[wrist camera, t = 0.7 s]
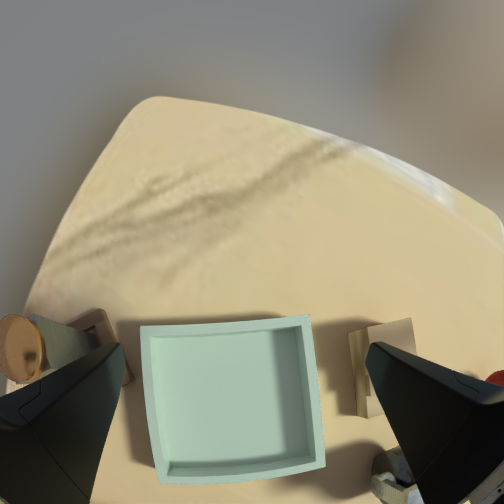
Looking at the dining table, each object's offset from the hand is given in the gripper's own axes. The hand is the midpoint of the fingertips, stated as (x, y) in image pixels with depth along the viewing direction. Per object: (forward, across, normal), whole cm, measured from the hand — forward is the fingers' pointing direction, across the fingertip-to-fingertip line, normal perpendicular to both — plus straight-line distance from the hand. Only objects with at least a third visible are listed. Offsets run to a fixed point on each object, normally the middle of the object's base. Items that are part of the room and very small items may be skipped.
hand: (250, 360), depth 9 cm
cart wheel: (+4, -15, +20) cm, 25 cm away
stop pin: (+11, +13, +10) cm, 20 cm away
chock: (+11, -14, +11) cm, 21 cm away
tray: (+10, 0, +12) cm, 16 cm away
